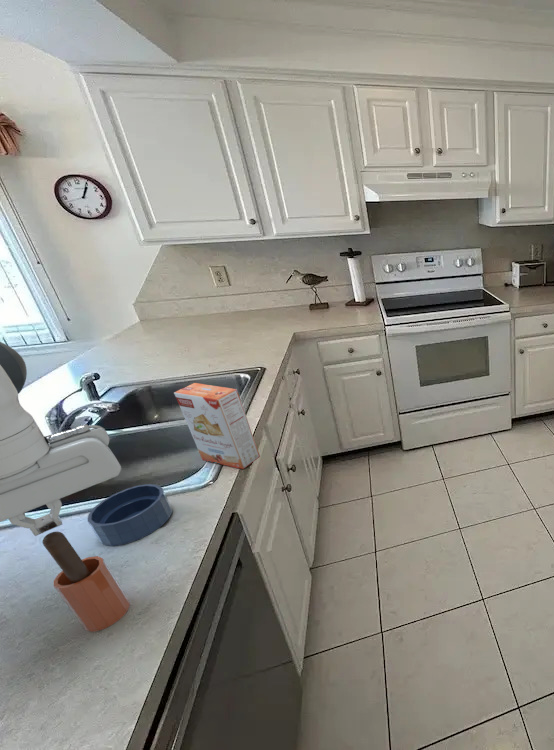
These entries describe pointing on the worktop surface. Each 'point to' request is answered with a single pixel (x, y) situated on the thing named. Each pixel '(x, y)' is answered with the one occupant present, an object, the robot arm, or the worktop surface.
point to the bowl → (130, 514)
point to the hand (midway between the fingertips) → (48, 528)
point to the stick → (65, 556)
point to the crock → (94, 596)
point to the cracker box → (218, 424)
